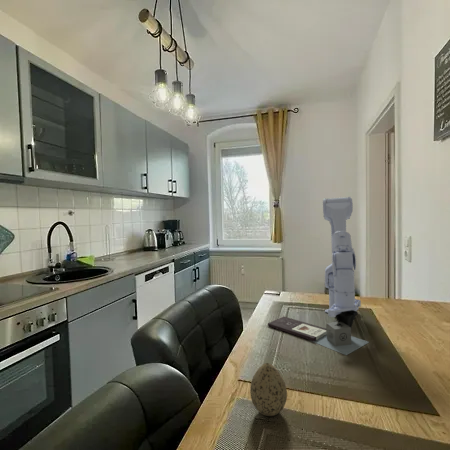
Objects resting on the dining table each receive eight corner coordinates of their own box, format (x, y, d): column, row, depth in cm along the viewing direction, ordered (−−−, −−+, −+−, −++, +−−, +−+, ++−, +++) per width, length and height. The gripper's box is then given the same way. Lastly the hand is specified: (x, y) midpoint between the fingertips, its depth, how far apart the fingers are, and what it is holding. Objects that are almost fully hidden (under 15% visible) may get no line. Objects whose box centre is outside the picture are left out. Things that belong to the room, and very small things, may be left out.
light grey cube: (351, 344, 85) (350, 327, 85) (335, 346, 84) (335, 329, 84) (341, 337, 90) (341, 321, 90) (326, 339, 89) (326, 323, 89)
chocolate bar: (283, 316, 107) (329, 329, 94) (284, 318, 107) (329, 332, 94) (267, 323, 101) (313, 338, 88) (268, 326, 101) (313, 341, 88)
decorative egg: (280, 399, 62) (278, 353, 62) (293, 422, 55) (291, 371, 55) (247, 404, 61) (245, 357, 61) (256, 428, 54) (254, 376, 53)
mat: (333, 330, 96) (333, 329, 96) (369, 342, 86) (369, 341, 86) (310, 341, 89) (310, 340, 89) (346, 355, 79) (346, 355, 79)
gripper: (342, 298, 81) (344, 345, 82) (369, 288, 90) (370, 331, 90) (321, 293, 87) (322, 337, 88) (348, 284, 96) (349, 325, 96)
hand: (345, 334), depth 90 cm, fingers closed
